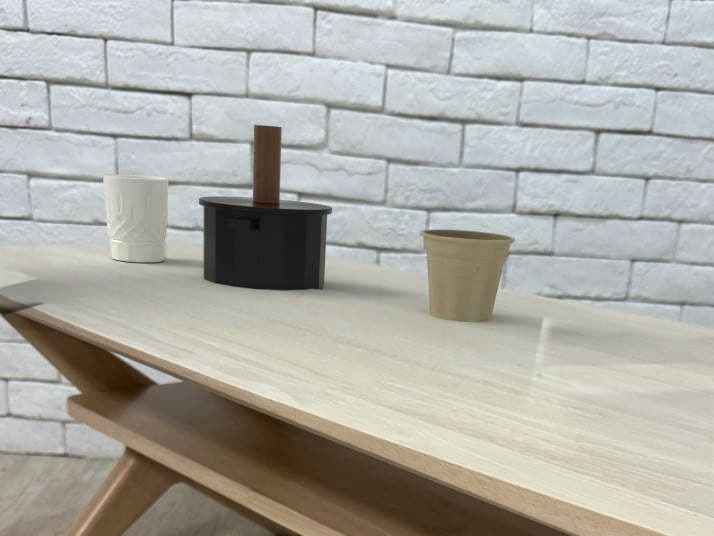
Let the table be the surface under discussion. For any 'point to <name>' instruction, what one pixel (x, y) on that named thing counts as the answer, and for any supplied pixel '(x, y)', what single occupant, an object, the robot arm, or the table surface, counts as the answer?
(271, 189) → the pot lid
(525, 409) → the table surface
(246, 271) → the pot
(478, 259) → the flower pot
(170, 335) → the table surface
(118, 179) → the white cup
